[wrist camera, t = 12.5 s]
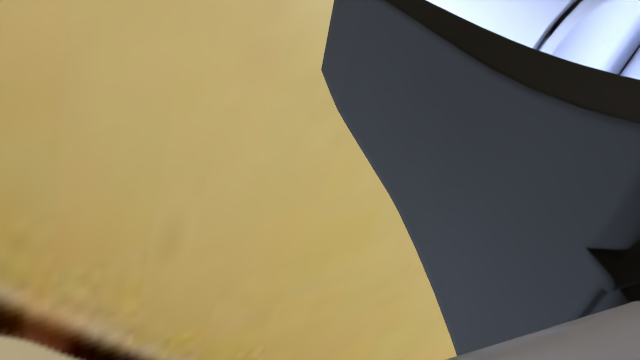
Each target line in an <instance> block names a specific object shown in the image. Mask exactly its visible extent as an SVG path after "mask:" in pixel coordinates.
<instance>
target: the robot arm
mask: <svg viewBox="0 0 640 360" xmlns="http://www.w3.org/2000/svg"><path fill="white" fill-rule="evenodd" d="M321 70H322V73H323V75H324V78H325V80H326V83H327V86H328V88H329V91H330V93H331V95H332V98H333V100H334V102H335V105H336V107H337V109H338V111H339V113H340V115H341V116H342V118H343V120H344V122H345V123H346V125H347V127H348V128H349V130H350V132H351V133H352V135H353V137H354V138H355V140H356V142H357V143H358V145H359V146H360V148H361V150H362V151H363V153H364V154H365V156H366V158H367V159H368V161H369V163H370V164H371V166H372V167H373V169H374V171H375V172H376V174H377V175H378V177H379V179H380V180H381V182H382V184H383V185H384V187H385V188H386V190H387V192H388V193H389V195H390V197H391V199H392V201H393V202H394V204H395V206H396V208H397V210H398V212H399V214H400V216H401V218H402V220H403V222H404V224H405V227H406V229H407V231H408V233H409V235H410V237H411V240H412V242H413V244H414V246H415V248H416V250H417V253H418V255H419V258H420V260H421V262H422V265H423V267H424V269H425V272H426V274H427V277H428V279H429V281H430V284H431V286H432V288H433V291H434V293H435V296H436V299H437V301H438V304H439V307H440V309H441V312H442V315H443V317H444V320H445V323H446V325H447V328H448V331H449V333H450V336H451V339H452V342H453V345H454V348H455V351H456V354H457V356H456V357H453V358H450V359H446V360H640V0H334V5H333V10H332V15H331V21H330V26H329V32H328V37H327V42H326V48H325V53H324V58H323V64H322V69H321Z"/></svg>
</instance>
